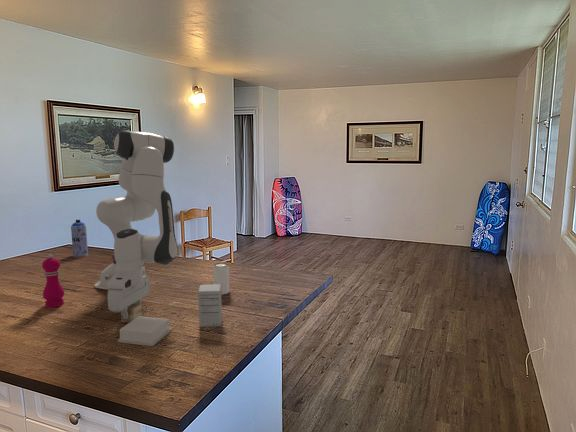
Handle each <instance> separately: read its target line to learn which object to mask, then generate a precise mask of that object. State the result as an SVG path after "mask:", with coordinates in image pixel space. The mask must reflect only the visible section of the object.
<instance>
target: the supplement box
mask: <svg viewBox="0 0 576 432" xmlns="http://www.w3.org/2000/svg"><path fill="white" fill-rule="evenodd" d="M197 294H198V298H197V299H198V320H199V327H201V328H202V327H205V328H206V327H221V326H222V322H223V321H222V319H223V312H222V311H223V310H222V295H221V284H214V283H212V284H210V283H209V284H200V285H199V289H198V293H197Z"/></svg>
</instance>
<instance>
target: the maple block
mask: <svg viewBox="0 0 576 432" xmlns="http://www.w3.org/2000/svg"><path fill="white" fill-rule="evenodd" d="M142 304H143V303H141V304H135V303H133V304H132V305H130V306H128V309H127V312H128V313H130V315H129V316H130V317H129V318H128V319H123V314H122V313H121V312H120V316H121V317H120V318H121V319H120V320H121V323H122V322H123V323H130V322H131V321H133V320H134V319H136V318H137V317H139V316H142V317H143V308H142V307H143V305H142Z"/></svg>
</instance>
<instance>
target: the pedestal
mask: <svg viewBox="0 0 576 432" xmlns="http://www.w3.org/2000/svg"><path fill="white" fill-rule="evenodd" d="M172 331H173V329H172V327H171V326H170V319H169V318H161V317H160V318H159V317H149V316H143V315H142V316H139V317H137V318H136V319H134V320H133V321H131V322H130V323H129V322H127V324H125V325H124V326H122V327H121V328H120V329H119V338H118V339H117V343H123V344H130V345H131V344H132V345H138V346H139V345H140V346H147V347H153V346H155V345H156V344H157V343H158V342H161V340H162V339H164V337H166V336H167V335H168V334H170V332H172Z"/></svg>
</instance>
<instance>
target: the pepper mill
mask: <svg viewBox="0 0 576 432" xmlns="http://www.w3.org/2000/svg"><path fill="white" fill-rule="evenodd" d="M41 264H42V265H41V267H42V269H43V270H44V271H43V273H44V276H45V278H46V283H45V287H44V289H43V293H42V296H43V297H42V298H43V299H44V300H45V302H44V303H45V304H44V306H45V308H49V309H50V308H53V309H54V308H58V307H61V306H64V303H65V302H64V298H63V297H64V295H65V290H64V287H63V285H62V284H61V282H60V280H59V274H60V267H61V261H60V260H59V259H58V258H56V257H54V255H53V254H51V253H49V254H48V255H47V258H46V259H44V260H43V262H42V263H41Z"/></svg>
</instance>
